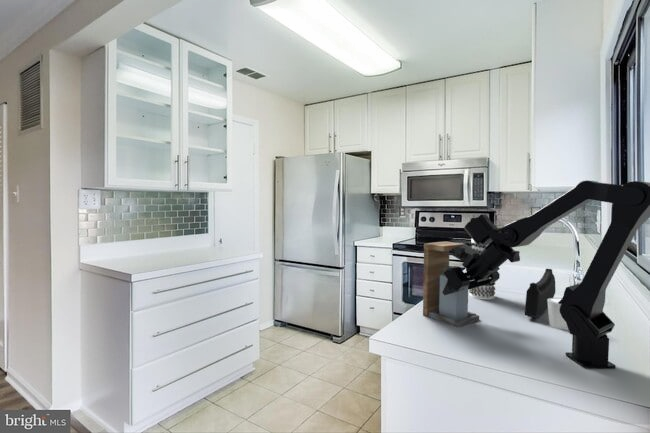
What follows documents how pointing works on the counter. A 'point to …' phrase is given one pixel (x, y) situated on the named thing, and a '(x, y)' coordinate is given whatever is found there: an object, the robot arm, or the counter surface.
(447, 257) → the wooden c-shaped stand
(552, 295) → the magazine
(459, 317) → the sleeve
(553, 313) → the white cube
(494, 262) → the robot arm
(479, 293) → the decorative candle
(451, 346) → the counter surface
